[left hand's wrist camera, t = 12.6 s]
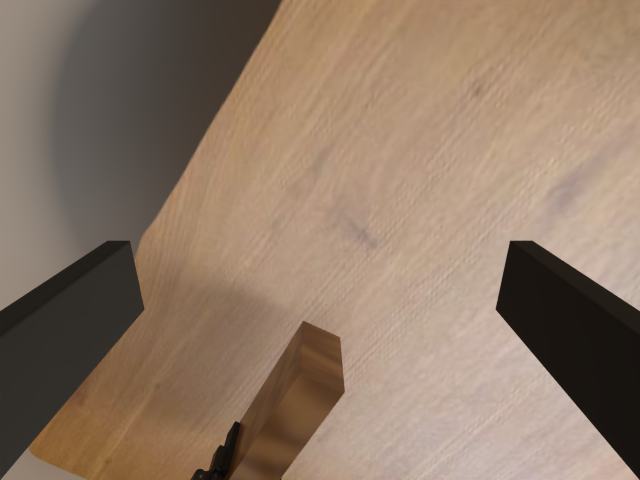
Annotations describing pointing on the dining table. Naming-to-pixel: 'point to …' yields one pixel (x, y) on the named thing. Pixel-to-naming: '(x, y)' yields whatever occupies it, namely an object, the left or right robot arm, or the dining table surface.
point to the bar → (289, 406)
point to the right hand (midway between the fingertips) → (253, 436)
